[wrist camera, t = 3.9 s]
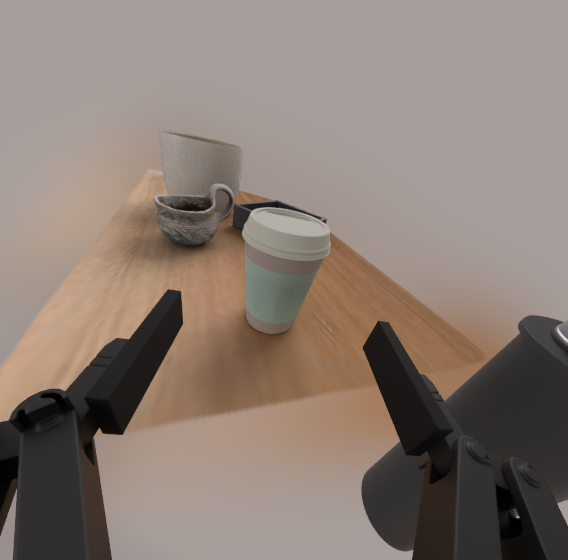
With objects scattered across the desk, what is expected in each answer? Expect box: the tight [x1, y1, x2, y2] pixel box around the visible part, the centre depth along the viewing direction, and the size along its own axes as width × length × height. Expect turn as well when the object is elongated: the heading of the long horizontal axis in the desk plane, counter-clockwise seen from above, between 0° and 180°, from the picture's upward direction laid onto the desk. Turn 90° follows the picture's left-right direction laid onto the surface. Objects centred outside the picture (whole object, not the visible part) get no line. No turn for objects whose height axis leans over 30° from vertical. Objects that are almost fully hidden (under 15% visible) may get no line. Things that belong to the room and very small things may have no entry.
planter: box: [158, 130, 243, 213], centre depth 50 cm, size 17×17×15 cm
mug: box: [154, 184, 235, 245], centre depth 37 cm, size 10×12×10 cm
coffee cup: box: [242, 207, 331, 334], centre depth 23 cm, size 8×8×12 cm
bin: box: [233, 200, 327, 230], centre depth 50 cm, size 16×16×5 cm
